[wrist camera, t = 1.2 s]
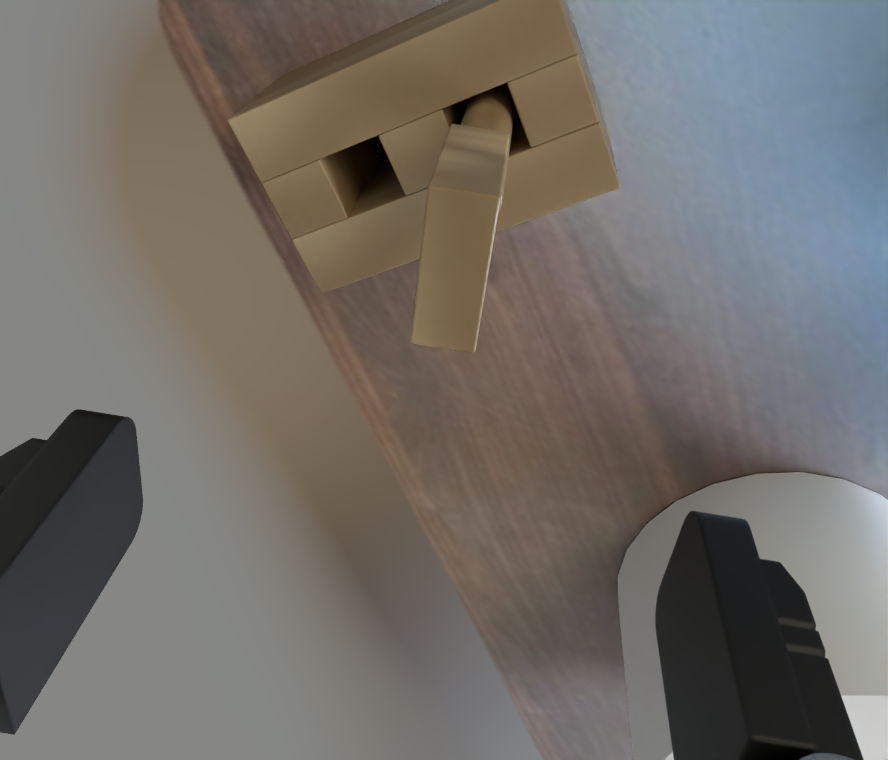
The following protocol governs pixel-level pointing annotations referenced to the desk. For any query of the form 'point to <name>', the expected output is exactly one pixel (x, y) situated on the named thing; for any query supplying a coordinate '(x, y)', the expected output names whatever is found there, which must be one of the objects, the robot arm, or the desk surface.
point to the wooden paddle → (462, 223)
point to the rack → (423, 130)
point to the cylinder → (809, 563)
